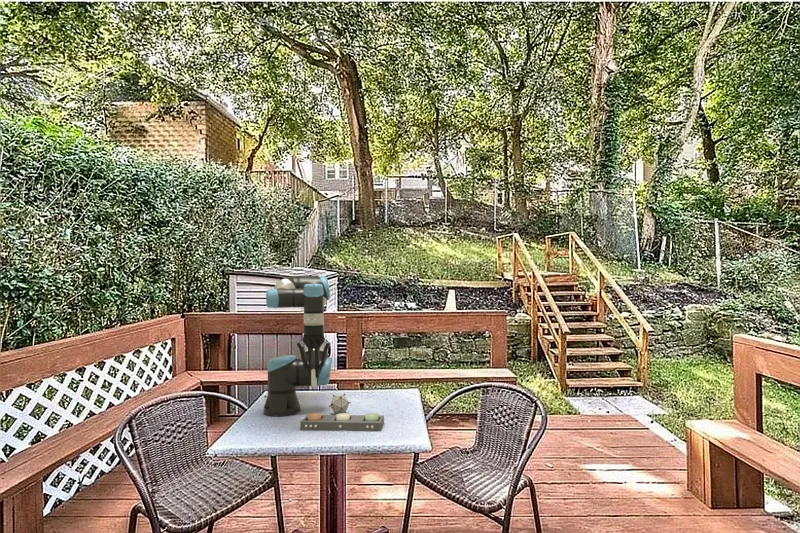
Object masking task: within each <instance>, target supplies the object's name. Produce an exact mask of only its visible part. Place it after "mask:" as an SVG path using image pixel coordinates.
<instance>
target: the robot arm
mask: <svg viewBox="0 0 800 533" xmlns="http://www.w3.org/2000/svg"><path fill="white" fill-rule="evenodd" d="M265 297H266V298H265V303H266V307H267V308H270V309H280V308H283V309H284V308H286V309H287V308H303V324H304V325H303V337H302V340H301V341H299V342H297V344H296V346H297V347H298V349H299V353H300V358H297V357H296V355H294V354H288V355H287V354H286V355H281V356H276V357H273V358H270V359H269V361H268V362H267V371H266V372H267V396H266V399H265V402H264V405H263V415H266V416H268V417H269V416H270V417H286V416H292V415H297V414H298V413H300V412H301V404H300V401H299V398H298V395H297V387H298V388H299V387H311V388H315V387H320V386H327V385H329V383H330V380H331V371H332V370H331V368H332V357H329V353H328V351H329V347H331V345H332V344H331V342H330V341H327V340H326V337H325V314H324V312H325V311H324V310H325V308H324V307H325V306H326V304H327V303H328V302H327V301H329V300H330V299H331V293H330V284H329V280H328V278H327V276H325V275H318V274H317V275H292V276H287V277H284V278H282V279H279V280H278V281H277V282H276V283H275V285H274V288H268V289H267V290H266V292H265Z"/></svg>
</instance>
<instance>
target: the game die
mask: <svg viewBox="0 0 800 533" xmlns="http://www.w3.org/2000/svg"><path fill="white" fill-rule="evenodd" d="M332 397H333V398H332V400H331V403H330V405H328V407H329V408H331V409H332V411H333V412H334V414H333V415H336V414H339V413H347V410H348V407H349V405H350V404H351V403H352V402H351V401H348V399H347V398H346V393H344V394H343V395H334V394H332Z"/></svg>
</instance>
